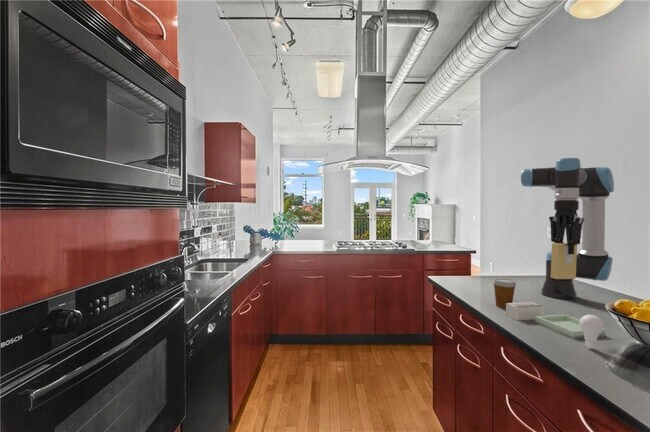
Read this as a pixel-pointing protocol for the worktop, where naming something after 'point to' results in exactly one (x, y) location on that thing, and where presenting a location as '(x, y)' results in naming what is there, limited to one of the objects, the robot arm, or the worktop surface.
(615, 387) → the worktop surface
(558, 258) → the pale yellow tall box
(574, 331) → the tray
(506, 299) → the disposable coffee cup
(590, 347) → the lightbulb
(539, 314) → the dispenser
